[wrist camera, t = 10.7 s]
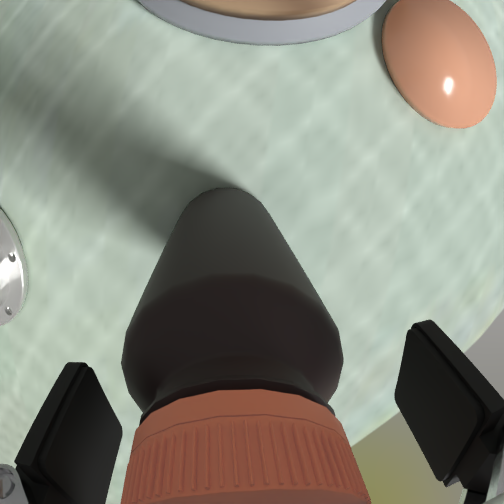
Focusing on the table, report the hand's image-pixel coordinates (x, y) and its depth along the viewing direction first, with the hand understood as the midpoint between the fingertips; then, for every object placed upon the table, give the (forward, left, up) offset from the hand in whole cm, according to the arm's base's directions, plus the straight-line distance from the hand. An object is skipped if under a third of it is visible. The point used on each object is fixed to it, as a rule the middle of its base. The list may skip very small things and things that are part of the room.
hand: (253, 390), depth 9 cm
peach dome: (+18, +13, -15) cm, 27 cm away
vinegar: (-1, 0, -16) cm, 16 cm away
